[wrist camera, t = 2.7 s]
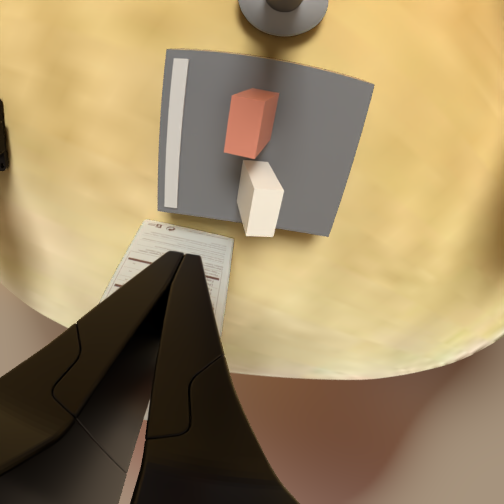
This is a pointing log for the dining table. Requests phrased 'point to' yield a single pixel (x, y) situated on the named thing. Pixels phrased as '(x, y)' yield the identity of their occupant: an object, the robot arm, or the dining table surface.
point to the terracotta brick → (250, 122)
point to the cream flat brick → (259, 198)
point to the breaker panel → (276, 150)
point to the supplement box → (187, 241)
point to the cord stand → (284, 15)
